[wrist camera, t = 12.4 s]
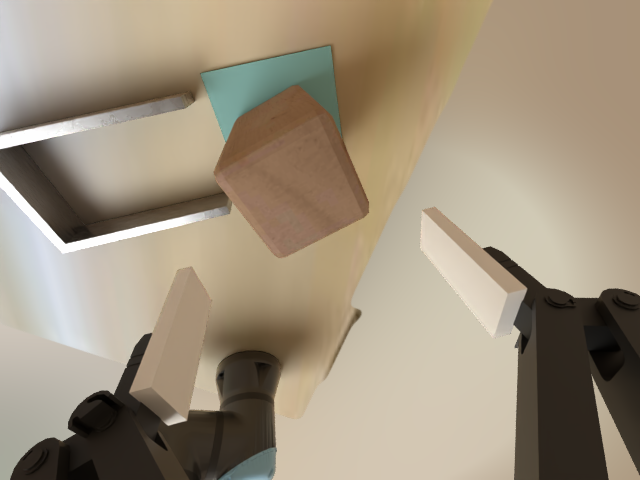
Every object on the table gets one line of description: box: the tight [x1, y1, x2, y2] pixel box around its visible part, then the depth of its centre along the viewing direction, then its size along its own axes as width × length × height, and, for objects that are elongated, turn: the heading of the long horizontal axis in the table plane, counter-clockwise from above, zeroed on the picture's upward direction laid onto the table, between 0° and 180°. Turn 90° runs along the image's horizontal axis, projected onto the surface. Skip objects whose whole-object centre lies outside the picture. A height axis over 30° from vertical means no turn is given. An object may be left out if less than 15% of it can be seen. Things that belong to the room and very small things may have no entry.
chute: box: [0, 91, 232, 253], centre depth 36 cm, size 15×23×5 cm, turn 100°
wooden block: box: [214, 85, 369, 258], centre depth 30 cm, size 10×10×20 cm
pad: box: [200, 45, 342, 142], centre depth 38 cm, size 18×16×1 cm
